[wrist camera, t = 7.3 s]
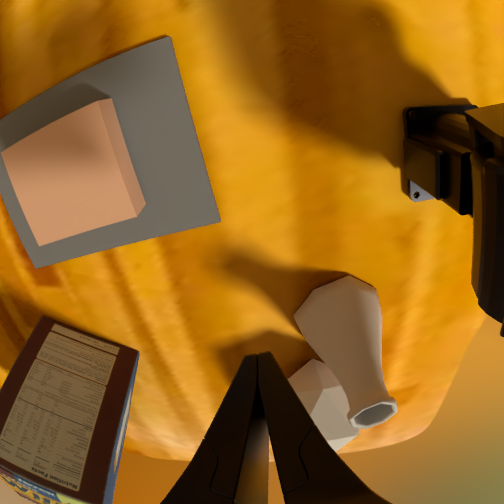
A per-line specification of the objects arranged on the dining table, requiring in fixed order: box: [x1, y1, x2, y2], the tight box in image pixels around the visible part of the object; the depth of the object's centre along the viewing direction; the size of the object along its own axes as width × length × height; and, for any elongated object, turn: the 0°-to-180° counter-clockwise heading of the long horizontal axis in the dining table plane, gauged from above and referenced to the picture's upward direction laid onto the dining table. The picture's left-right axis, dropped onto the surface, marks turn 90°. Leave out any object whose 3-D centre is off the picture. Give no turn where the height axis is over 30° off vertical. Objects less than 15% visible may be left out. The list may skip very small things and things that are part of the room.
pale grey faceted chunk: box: [288, 358, 360, 452], centre depth 26 cm, size 8×9×10 cm
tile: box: [1, 98, 146, 246], centre depth 17 cm, size 2×7×8 cm
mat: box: [0, 36, 221, 269], centre depth 18 cm, size 16×12×1 cm
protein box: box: [0, 316, 139, 504], centre depth 22 cm, size 10×15×16 cm
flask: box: [293, 275, 398, 429], centre depth 21 cm, size 7×7×10 cm
